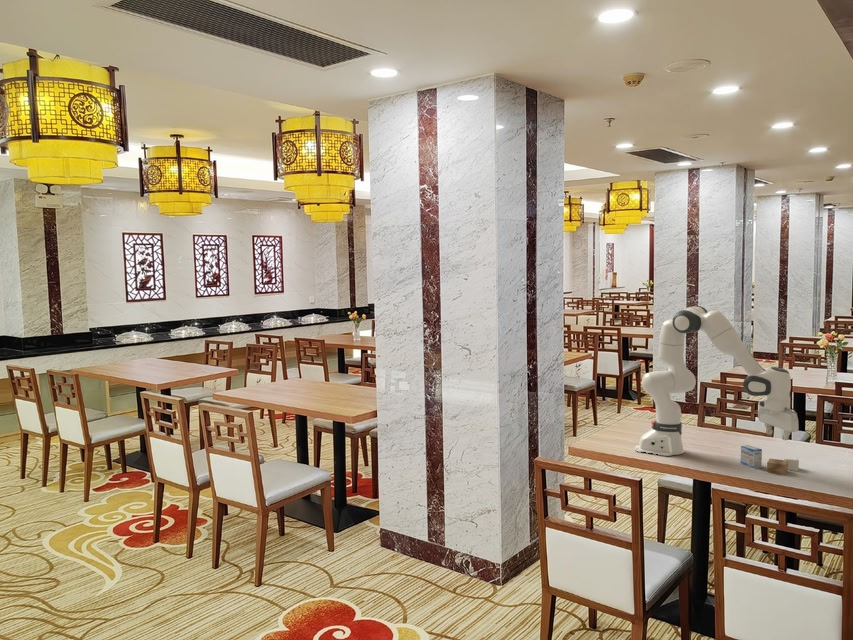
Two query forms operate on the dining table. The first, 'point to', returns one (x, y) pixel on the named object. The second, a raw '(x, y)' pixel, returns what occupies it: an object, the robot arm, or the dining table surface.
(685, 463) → the dining table surface
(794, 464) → the cream block
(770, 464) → the walnut block
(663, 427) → the robot arm
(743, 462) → the medicine box
